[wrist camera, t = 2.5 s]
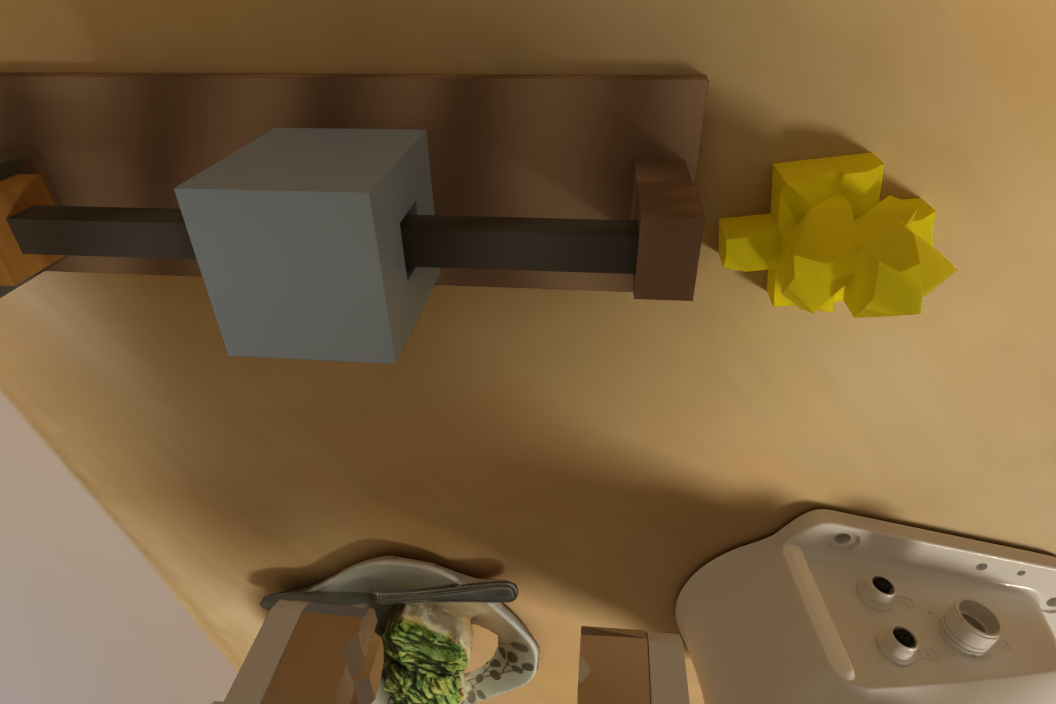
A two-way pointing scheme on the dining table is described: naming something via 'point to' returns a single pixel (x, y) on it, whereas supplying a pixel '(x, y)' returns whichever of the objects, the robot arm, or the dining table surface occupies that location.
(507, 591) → the salad plate
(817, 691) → the robot arm
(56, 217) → the rail rig
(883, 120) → the dining table surface
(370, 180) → the sleeve
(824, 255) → the crumpled paper
